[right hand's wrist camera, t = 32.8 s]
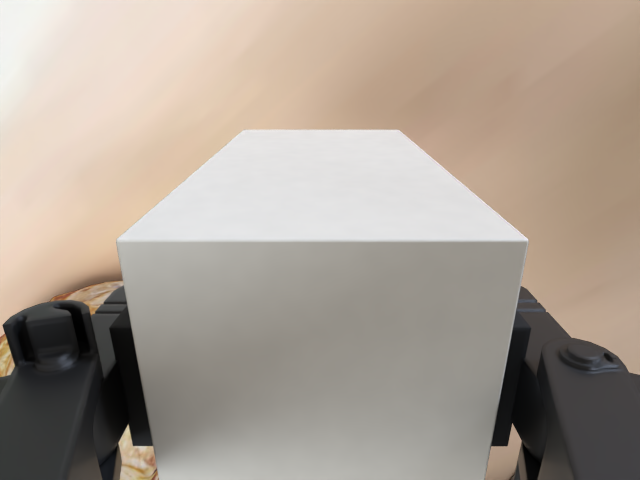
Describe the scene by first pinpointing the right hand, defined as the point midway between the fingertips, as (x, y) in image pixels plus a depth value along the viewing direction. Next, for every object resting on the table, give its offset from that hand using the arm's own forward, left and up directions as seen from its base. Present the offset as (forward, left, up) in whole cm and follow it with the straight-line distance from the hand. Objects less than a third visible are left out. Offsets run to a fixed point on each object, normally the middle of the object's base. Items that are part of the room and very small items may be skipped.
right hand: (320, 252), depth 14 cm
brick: (0, 0, -4) cm, 4 cm away
